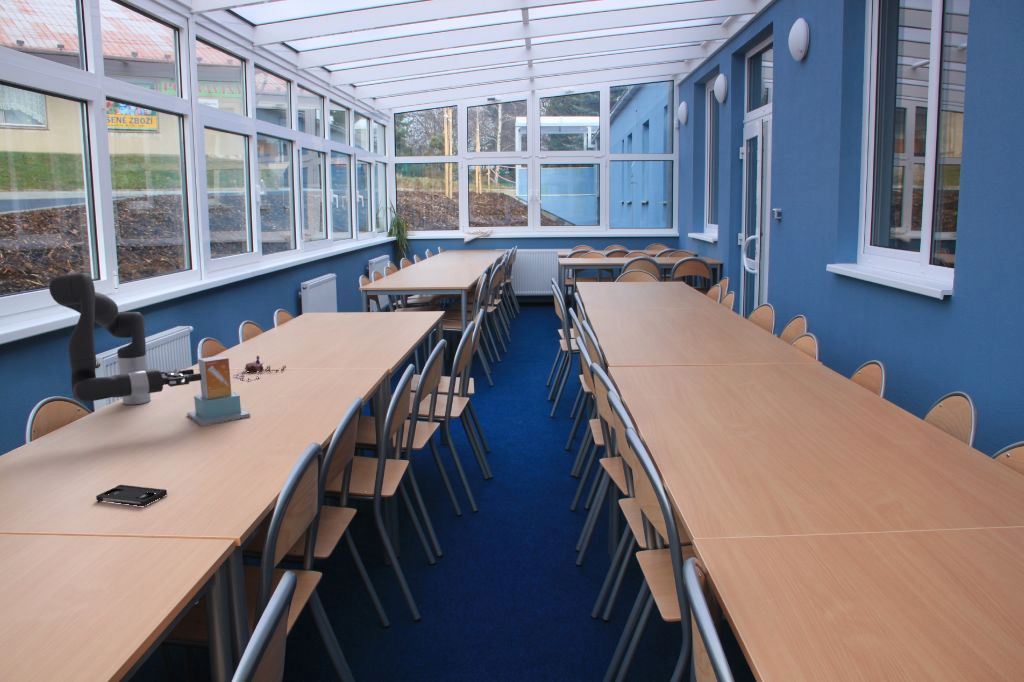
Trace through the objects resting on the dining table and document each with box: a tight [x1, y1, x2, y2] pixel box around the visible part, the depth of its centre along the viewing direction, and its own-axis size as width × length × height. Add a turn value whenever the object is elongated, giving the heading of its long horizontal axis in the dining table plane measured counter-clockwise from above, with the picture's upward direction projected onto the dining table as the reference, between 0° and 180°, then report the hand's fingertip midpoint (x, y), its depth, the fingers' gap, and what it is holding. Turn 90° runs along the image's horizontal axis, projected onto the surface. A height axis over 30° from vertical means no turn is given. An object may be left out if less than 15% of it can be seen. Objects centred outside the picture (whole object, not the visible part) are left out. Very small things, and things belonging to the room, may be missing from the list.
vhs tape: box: [95, 484, 168, 506], centre depth 188 cm, size 14×8×2 cm, turn 73°
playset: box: [233, 355, 287, 381], centre depth 321 cm, size 25×19×7 cm
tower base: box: [186, 390, 251, 427], centre depth 258 cm, size 16×16×7 cm
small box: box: [197, 355, 232, 399], centre depth 256 cm, size 8×6×13 cm
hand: (197, 374), depth 253 cm, fingers open, 8 cm apart
